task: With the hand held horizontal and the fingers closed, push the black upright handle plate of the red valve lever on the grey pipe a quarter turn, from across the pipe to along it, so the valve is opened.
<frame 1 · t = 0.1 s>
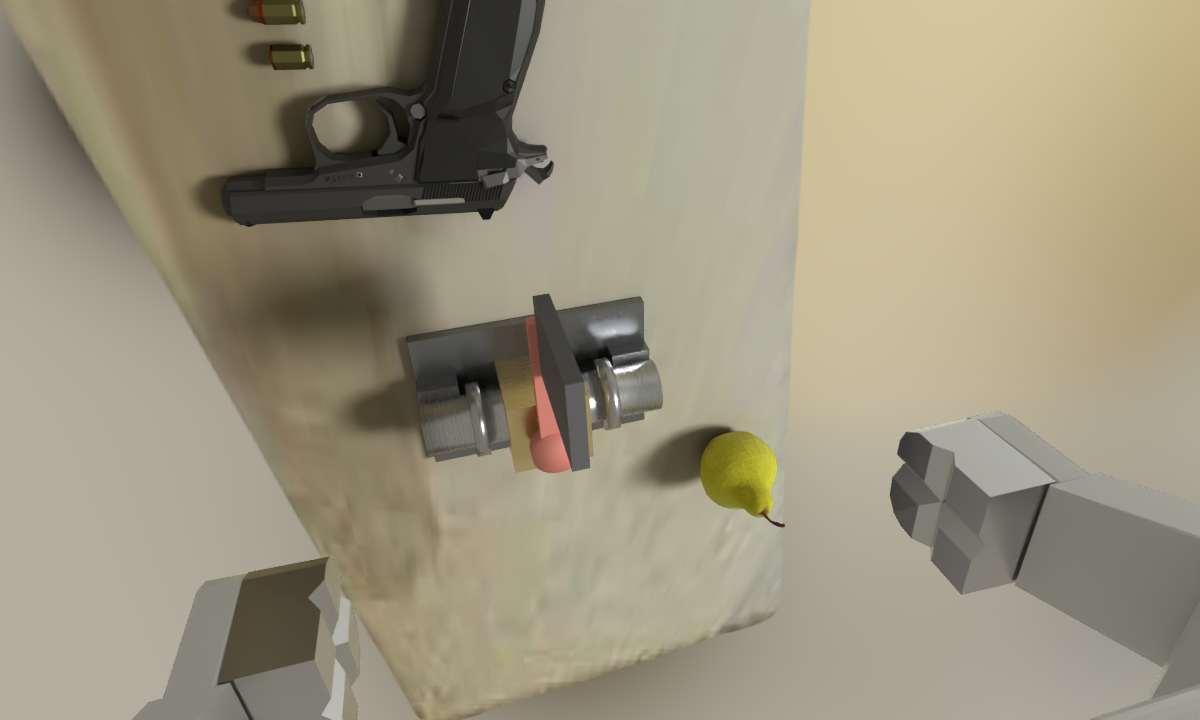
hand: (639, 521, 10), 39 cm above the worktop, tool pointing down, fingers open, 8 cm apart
lever: (563, 429, 43), point 13 cm above the worktop, hinge at 0.0°
valve: (534, 378, 57), on the worktop
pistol: (382, 92, 43), on the worktop
fruit: (721, 443, 67), on the worktop
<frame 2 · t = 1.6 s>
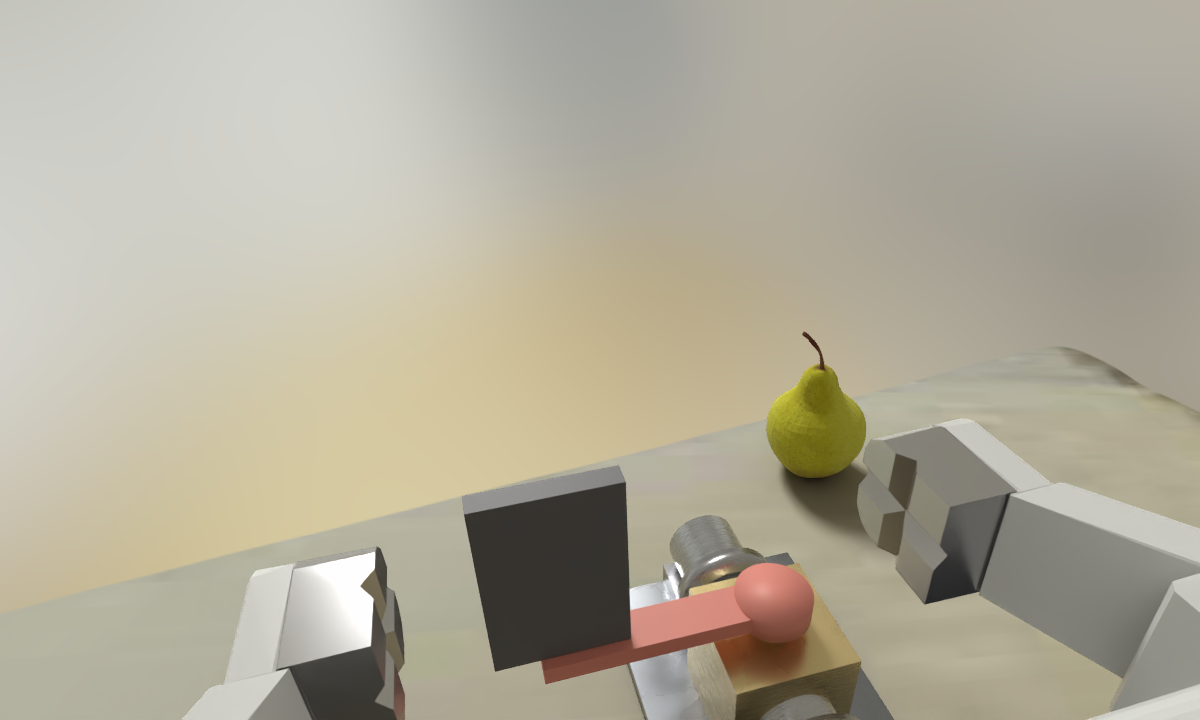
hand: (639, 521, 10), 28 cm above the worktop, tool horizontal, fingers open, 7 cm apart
lever: (657, 559, 30), point 13 cm above the worktop, hinge at 0.0°
valve: (759, 710, 37), on the worktop
fruit: (810, 469, 54), on the worktop
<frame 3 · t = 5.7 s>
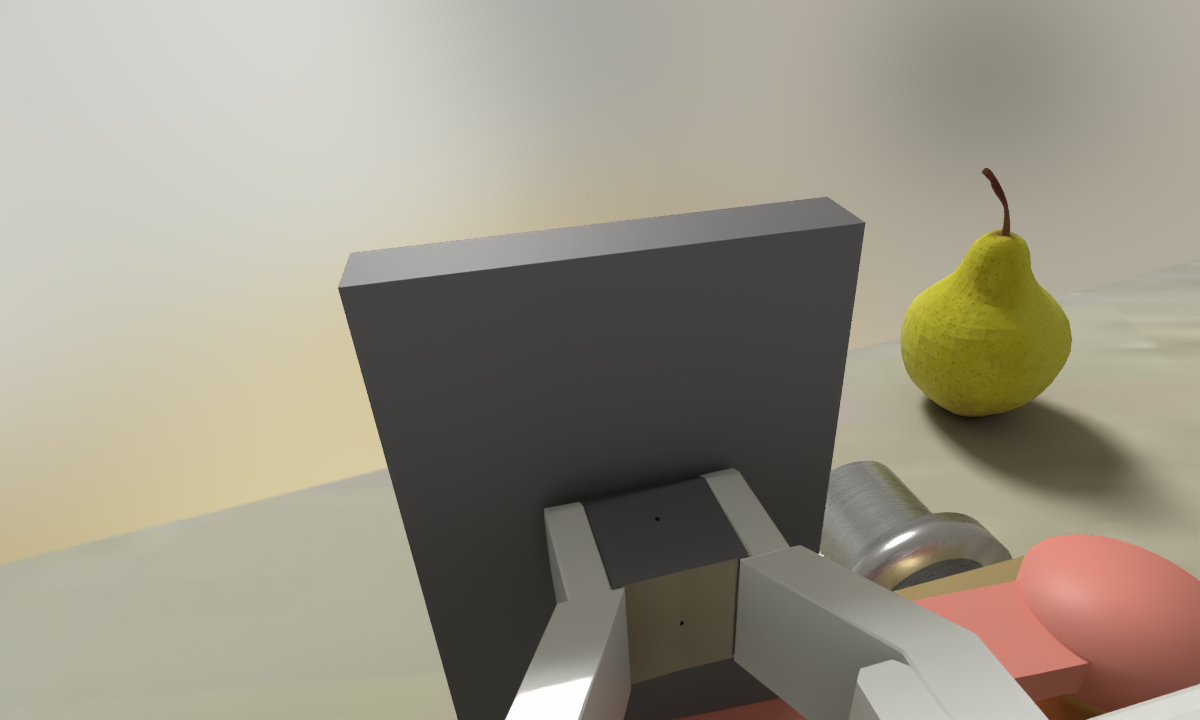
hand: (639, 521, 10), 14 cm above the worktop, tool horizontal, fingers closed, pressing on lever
lever: (889, 500, 11), point 13 cm above the worktop, hinge at 4.8°, touching gripper
fruit: (965, 406, 35), on the worktop
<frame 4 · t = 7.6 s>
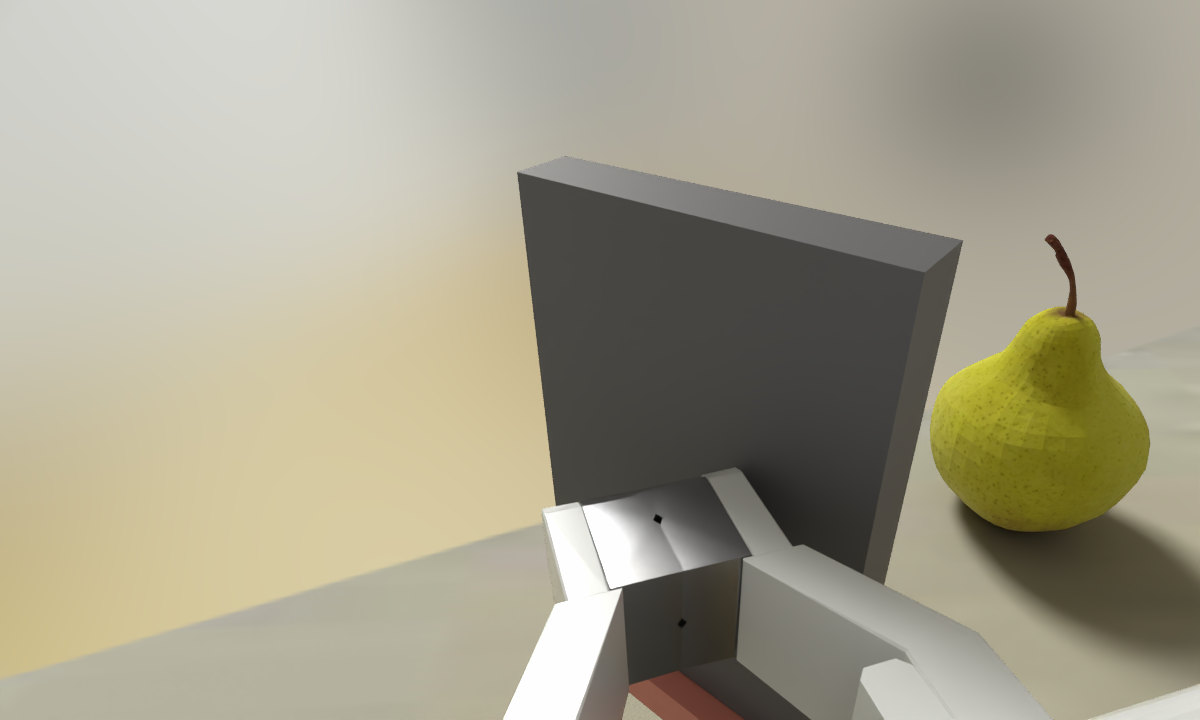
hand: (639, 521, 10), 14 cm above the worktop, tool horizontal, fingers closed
lever: (977, 651, 9), point 13 cm above the worktop, hinge at 58.1°, touching gripper
fruit: (1008, 511, 29), on the worktop
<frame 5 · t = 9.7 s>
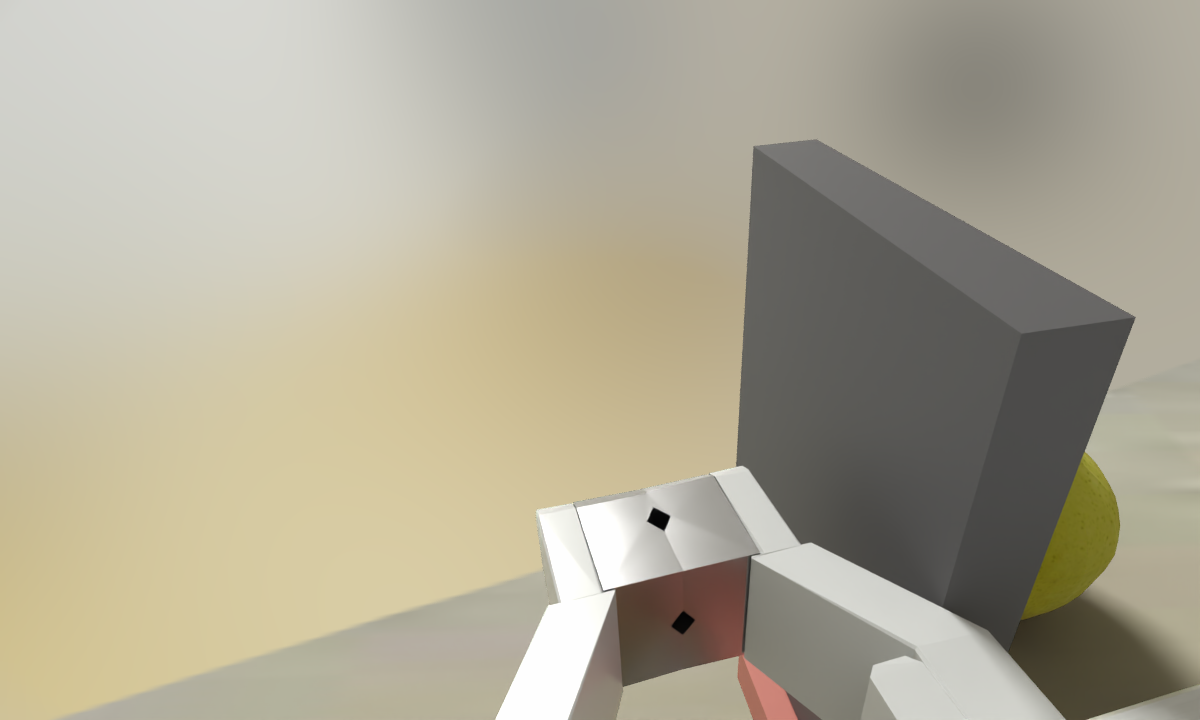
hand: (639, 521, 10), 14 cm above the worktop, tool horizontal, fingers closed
fruit: (965, 588, 26), on the worktop
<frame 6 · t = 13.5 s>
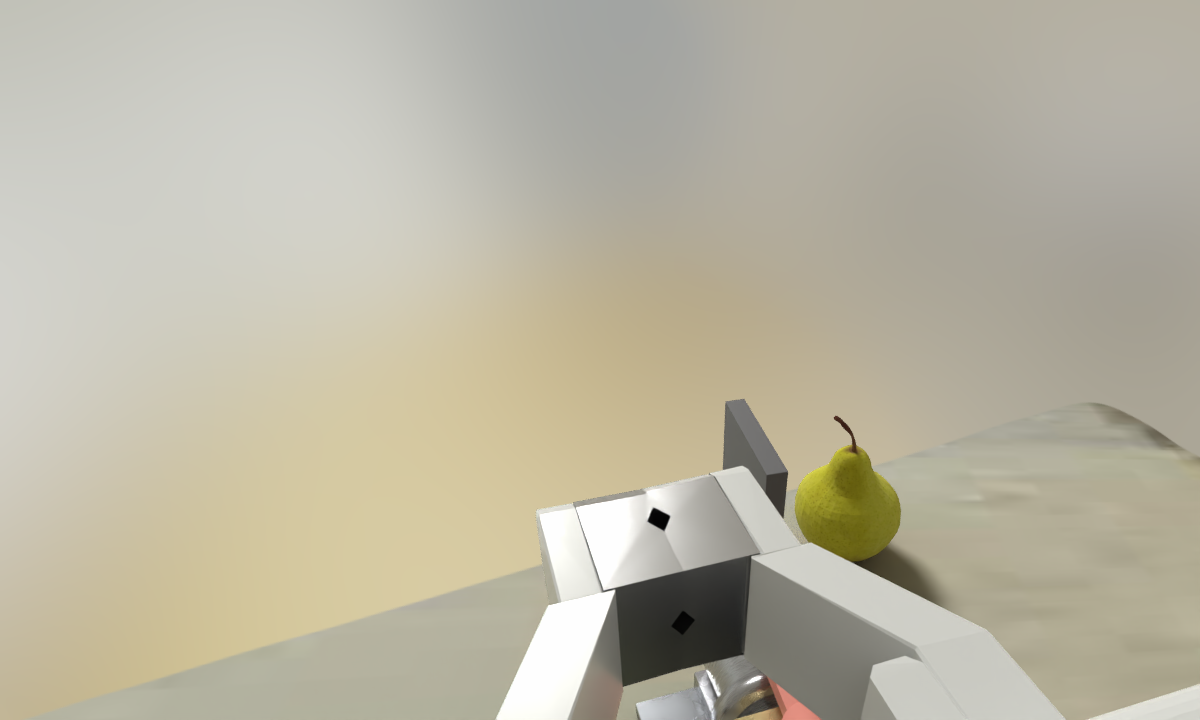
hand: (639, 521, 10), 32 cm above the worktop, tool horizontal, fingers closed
lever: (780, 575, 33), point 13 cm above the worktop, hinge at 95.2°
fruit: (840, 549, 51), on the worktop
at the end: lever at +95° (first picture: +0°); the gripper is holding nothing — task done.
